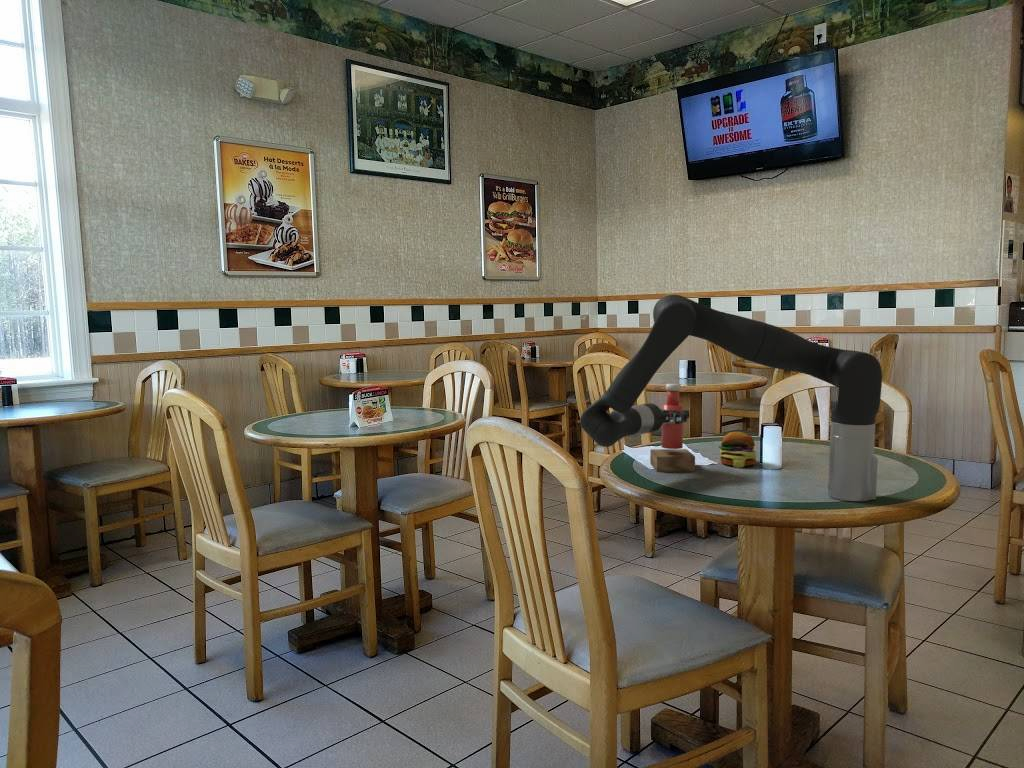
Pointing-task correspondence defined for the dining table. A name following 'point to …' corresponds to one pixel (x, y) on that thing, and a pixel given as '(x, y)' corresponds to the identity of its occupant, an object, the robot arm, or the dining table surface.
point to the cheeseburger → (737, 450)
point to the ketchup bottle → (672, 431)
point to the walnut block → (672, 460)
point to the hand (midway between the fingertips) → (677, 413)
